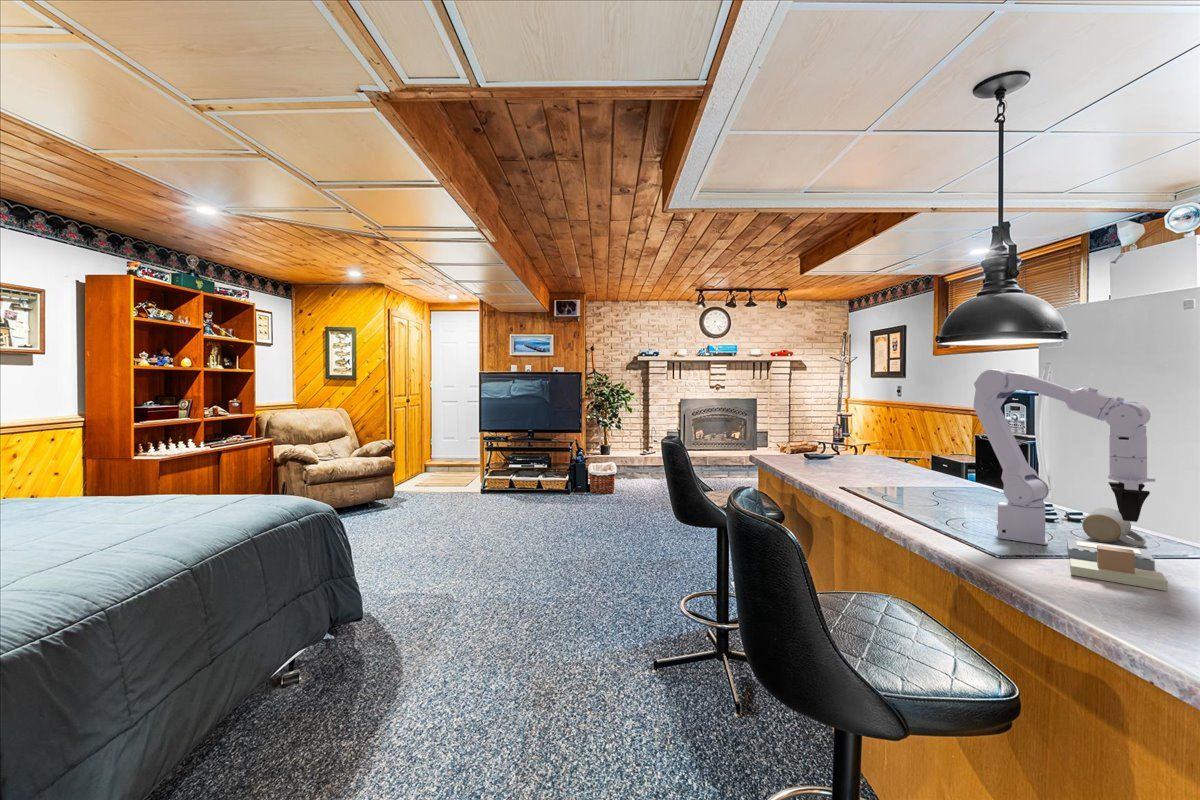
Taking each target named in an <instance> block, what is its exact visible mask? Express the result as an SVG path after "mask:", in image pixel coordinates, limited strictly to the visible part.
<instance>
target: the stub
mask: <svg viewBox="0 0 1200 800" xmlns="http://www.w3.org/2000/svg"><path fill="white" fill-rule="evenodd" d="M1069 569H1070V575H1072V576H1077V577H1083V578H1089V579H1094V580H1101V581H1106V582H1113V583H1119V584H1123V585H1129V586H1130V585H1131V586H1134V587H1135V586H1136V587H1143V588H1148V589H1154V590H1160V591H1165V592H1168V579H1166V577H1165V575H1164V574H1163V572H1161V571H1156V570H1155V571H1154V570H1147V569H1140V568H1135V553H1134V551H1133V550H1130V549H1122V548H1115V547H1108V546H1100V545H1097V562H1095V561H1088V560H1081V559H1075V558H1069Z"/></svg>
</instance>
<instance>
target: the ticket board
mask: <svg viewBox="0 0 1200 800" xmlns="http://www.w3.org/2000/svg"><path fill="white" fill-rule="evenodd" d="M1097 545H1100V546H1108V547H1115V548H1122V549H1130V550H1133V551H1134V553H1135V568H1136V569H1143V570H1149V571H1156V567H1155V566H1156V562H1155V559H1154V558H1153V556H1152V554H1151V553H1150V552H1149V550H1148V549H1147V548H1141V547H1139V548H1138V547H1133V546H1131V547H1130V546H1123V545H1116V544H1109V543H1104V542H1094V541H1089V540H1088V541H1086V540H1079V539H1074V538H1073V539H1072V538H1067V539H1066V548H1067V555H1068V558H1069V559H1070V558H1071V559H1077V560H1084V561H1090V562H1097Z"/></svg>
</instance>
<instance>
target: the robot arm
mask: <svg viewBox="0 0 1200 800" xmlns="http://www.w3.org/2000/svg"><path fill="white" fill-rule="evenodd" d="M973 386H974V389H975V391H974V399H973V408H974V409H973V410H974V412H975V413H976V416H977V418H978V421H979V422H980V424H981V426H982V429H983V431H984V432H985V435H986V437H987V440H988V442H989V444H990V445H991V447H992V450H993V452H994V454H995V456H996V458H997V460H998V462H999V465H1000V466H1001V469H1002V474H1001V477H1000V478H1001V481H1002V483H1003V490H1002V491H1003V495H1004V497H1005V498H1006V500H1007V502H1005V501H1004V502H1003V501H999V502H998V503H997V523H996V531H997V538H998V539H1003V540H1009V541H1014V542H1015V541H1016V542H1022V543H1029V544H1036V545H1037V544H1038V545H1044V546H1047V545H1048V543H1049V542H1048V539H1049V538H1048V536H1046V504H1045V502H1044V500H1045V499H1046V498H1047V497H1048V496H1049V493H1050V489H1049V486H1048V484H1047V482H1045V480H1043V479H1042V478H1041V477H1040V476H1039V474H1038V473H1037V471H1036V470H1035V469H1034V468H1033V467H1032V466H1030V465H1029V463H1028V461H1027V460H1026V457H1025V455H1024V454H1023V451H1022V449H1021V447H1020V446H1019V444H1018V441H1017V440H1016V437H1015V436H1014V433H1013V431H1012V429H1011V427H1010V425H1009V424H1008V421H1007V419H1006V417H1005V415H1004V412H1003V410H1002V409H1001V407H1002V405H1003V404H1004V403H1005V401H1006V400H1007V398H1008V397H1010V396H1011V395H1013V393H1015V392H1016V391H1030V392H1033V393H1036V394H1040V395H1042V396H1045V397H1048V398H1052V399H1054V400H1058V401H1062V402H1064V403H1065V405H1066V407H1067V408H1068V409H1069V410H1070V411H1073V412H1075V413H1079V414H1082V415H1083V416H1087V417H1089V418H1093V419H1096V420H1099V421H1101V422H1106V424H1107V425H1108V426H1109V436H1108V437H1109V439H1108V440H1109V474H1108V477H1107V478H1108V479H1109V480H1111V481H1109V482H1108V485H1109V486H1110V489H1111V491H1112V492H1113V493H1114V498H1115V501H1116V506H1117V509H1118V511H1119V512H1120V514H1121V516H1122V518H1123V520H1124V521H1130V522H1134V523H1137V522H1138V521H1139V518H1140V515H1141V511H1142V507H1143V504H1144V502H1145V501H1146V499H1147V498H1148V497H1149V495H1151V491H1149V490H1143V489H1144V488H1145V486H1146V485H1145V484H1144V483H1149V482H1151V483H1155V482H1156V477H1151V476H1150V477H1149V476H1148V436H1147V425H1146V424H1148V423H1149V421H1150V419H1151V412H1150V410H1149V409H1148V407H1147V406H1145V405H1142V404H1141V403H1139V402H1136V401H1126V402H1124V401H1125V397H1121V396H1116V397H1114V396H1111V395H1108V394H1104V393H1102V392H1099V391H1098V390H1099V389H1098V388H1095V387H1088V388H1087V387H1080V388H1077V389H1071V388H1069V387H1065V386H1062V385H1060V384H1058V383H1054V382H1052V381H1049V380H1046V379H1044V378H1041V377H1039V376H1035V375H1032V374H1029V373H1025V372H1019V371H1018V372H1017V371H1014V370H1012V369H1001V370H1000V369H993V368H991V369H986V370H984V371H982V372H981V373H980V375H979V376H978V377H977V379H976V380H975V382H974V383H973Z"/></svg>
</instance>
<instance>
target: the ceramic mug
mask: <svg viewBox="0 0 1200 800" xmlns="http://www.w3.org/2000/svg"><path fill="white" fill-rule="evenodd" d="M1082 530H1083V533H1085V534H1086V536H1088V538H1091V539H1092V540H1094V541H1097V542H1099V543H1113V542H1116V541H1121V542H1122V543H1126V544H1128V545H1131V546H1132V547H1136V548H1138V547H1139V548H1142V547H1143V546H1145V544H1146V543H1147V539H1146V538H1145V537H1143V536H1142V535H1140V534H1138V533H1137V532H1136V531H1133V530H1132V523H1131V521H1124V520H1123V518H1122V516H1121V514H1120V512H1119V510H1117V509H1114V508H1111V507H1099V508H1096V509H1094V510H1092V511H1091V512H1090V513H1088V515H1085V517H1084V519H1083V520H1082Z"/></svg>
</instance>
